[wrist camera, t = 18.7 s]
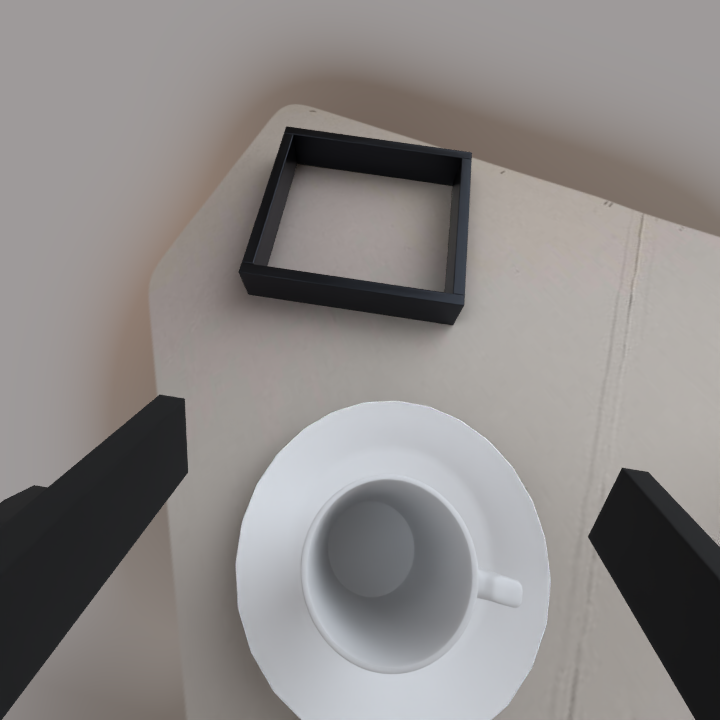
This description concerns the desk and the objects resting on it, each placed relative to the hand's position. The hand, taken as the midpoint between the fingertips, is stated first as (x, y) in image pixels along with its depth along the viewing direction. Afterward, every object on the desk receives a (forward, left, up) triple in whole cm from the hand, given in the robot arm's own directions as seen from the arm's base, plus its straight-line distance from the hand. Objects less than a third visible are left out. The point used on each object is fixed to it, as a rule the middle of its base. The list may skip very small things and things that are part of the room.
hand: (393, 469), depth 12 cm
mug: (+2, -3, -17) cm, 17 cm away
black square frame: (-4, +25, -19) cm, 31 cm away
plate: (+2, -3, -19) cm, 19 cm away
